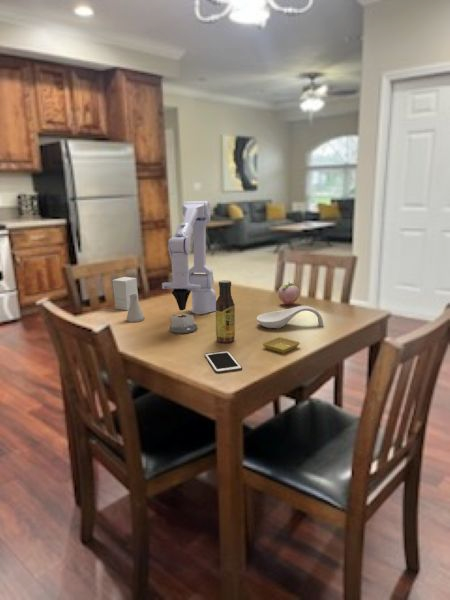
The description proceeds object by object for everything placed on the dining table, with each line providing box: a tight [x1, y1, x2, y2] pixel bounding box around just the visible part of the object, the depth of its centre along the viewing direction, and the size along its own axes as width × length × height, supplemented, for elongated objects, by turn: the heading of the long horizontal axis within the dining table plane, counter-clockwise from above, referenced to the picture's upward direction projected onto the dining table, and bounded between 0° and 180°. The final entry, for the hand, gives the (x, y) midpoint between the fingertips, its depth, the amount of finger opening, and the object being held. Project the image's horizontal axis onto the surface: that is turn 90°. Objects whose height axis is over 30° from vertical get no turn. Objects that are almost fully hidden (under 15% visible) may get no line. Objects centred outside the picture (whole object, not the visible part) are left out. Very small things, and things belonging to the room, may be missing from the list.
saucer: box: [262, 336, 301, 354], centre depth 142 cm, size 9×9×2 cm
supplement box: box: [112, 276, 140, 311], centre depth 193 cm, size 7×7×13 cm
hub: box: [168, 317, 198, 335], centre depth 162 cm, size 10×10×4 cm
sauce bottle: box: [215, 279, 236, 344], centre depth 148 cm, size 6×6×20 cm
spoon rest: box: [256, 305, 324, 329], centre depth 163 cm, size 24×12×7 cm, turn 91°
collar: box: [170, 313, 195, 330], centre depth 162 cm, size 6×6×4 cm
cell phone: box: [204, 350, 243, 374], centre depth 132 cm, size 8×15×1 cm, turn 16°
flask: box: [125, 293, 145, 323], centre depth 175 cm, size 7×7×10 cm
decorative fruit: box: [277, 282, 300, 306], centre depth 190 cm, size 9×8×10 cm
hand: (182, 309), depth 161 cm, fingers closed
